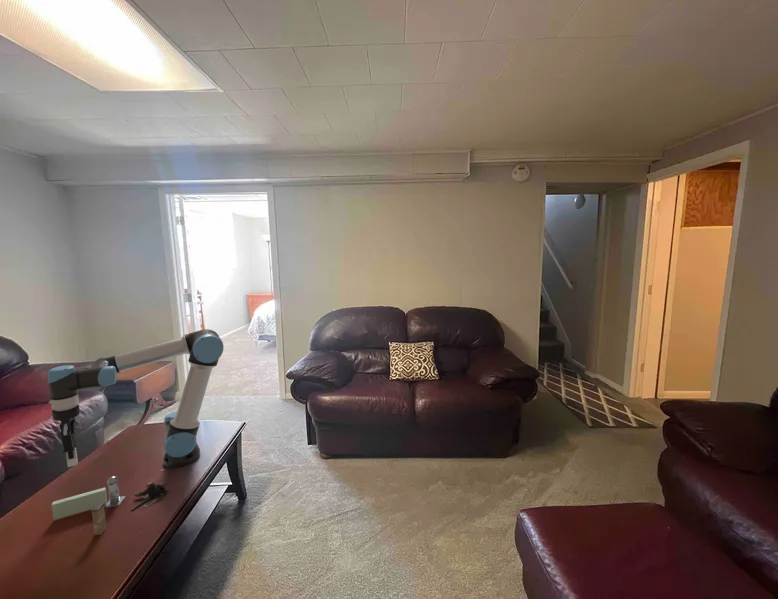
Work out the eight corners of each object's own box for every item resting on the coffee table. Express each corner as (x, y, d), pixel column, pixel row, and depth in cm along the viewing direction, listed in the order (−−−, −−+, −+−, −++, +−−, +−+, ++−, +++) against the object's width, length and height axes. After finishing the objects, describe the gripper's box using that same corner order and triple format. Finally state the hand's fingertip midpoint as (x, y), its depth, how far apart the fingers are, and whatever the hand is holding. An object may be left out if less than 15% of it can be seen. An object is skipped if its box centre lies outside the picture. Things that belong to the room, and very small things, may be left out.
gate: (107, 501, 134) (105, 487, 133) (106, 504, 133) (104, 490, 132) (54, 516, 126) (52, 501, 125) (53, 520, 124) (51, 505, 124)
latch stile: (107, 527, 123) (104, 502, 122) (101, 534, 120) (98, 509, 118) (99, 528, 122) (96, 503, 121) (93, 535, 119) (90, 510, 118)
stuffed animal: (173, 479, 147) (164, 479, 137) (170, 506, 143) (160, 508, 133) (142, 484, 144) (129, 484, 134) (137, 511, 140) (124, 513, 130)
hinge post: (125, 497, 138) (123, 472, 136) (118, 506, 133) (116, 480, 131) (111, 499, 137) (108, 473, 135) (104, 508, 132) (101, 481, 130)
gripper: (55, 403, 132) (62, 459, 135) (47, 416, 121) (56, 477, 125) (81, 398, 136) (87, 453, 140) (76, 411, 126) (83, 470, 129)
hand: (72, 464), depth 132 cm, fingers closed
